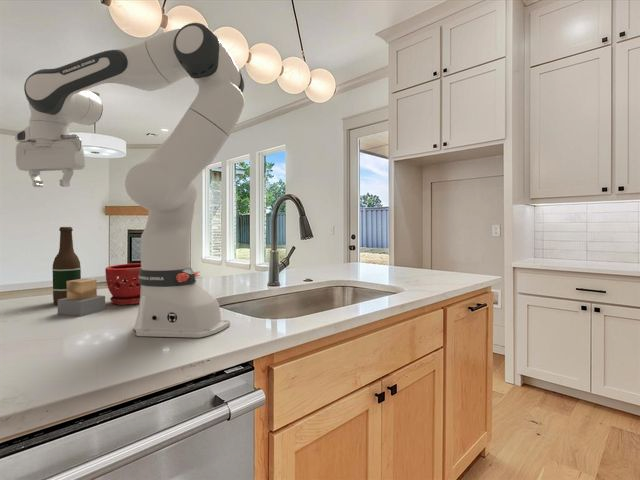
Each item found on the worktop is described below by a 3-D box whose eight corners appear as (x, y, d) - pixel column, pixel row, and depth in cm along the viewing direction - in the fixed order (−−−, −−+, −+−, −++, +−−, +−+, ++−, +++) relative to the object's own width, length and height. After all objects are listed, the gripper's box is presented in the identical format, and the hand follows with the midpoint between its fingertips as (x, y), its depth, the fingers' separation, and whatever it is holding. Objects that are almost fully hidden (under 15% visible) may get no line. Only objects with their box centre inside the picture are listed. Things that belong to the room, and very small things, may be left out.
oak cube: (96, 296, 104) (96, 279, 104) (81, 300, 100) (81, 282, 99) (82, 295, 106) (82, 278, 105) (66, 299, 101) (66, 281, 101)
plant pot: (123, 297, 123) (122, 262, 123) (160, 298, 122) (159, 263, 122) (96, 306, 110) (95, 267, 110) (137, 307, 109) (136, 267, 109)
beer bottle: (86, 302, 116) (85, 227, 115) (59, 306, 109) (57, 227, 108) (75, 299, 120) (73, 226, 119) (47, 303, 113) (46, 226, 113)
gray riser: (105, 309, 106) (105, 296, 106) (81, 316, 98) (80, 301, 98) (83, 307, 108) (83, 294, 108) (57, 314, 100) (57, 299, 100)
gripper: (90, 136, 100) (91, 187, 100) (33, 140, 105) (34, 188, 105) (69, 130, 93) (70, 184, 94) (9, 135, 99) (11, 186, 99)
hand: (51, 186), depth 100 cm, fingers open, 8 cm apart
